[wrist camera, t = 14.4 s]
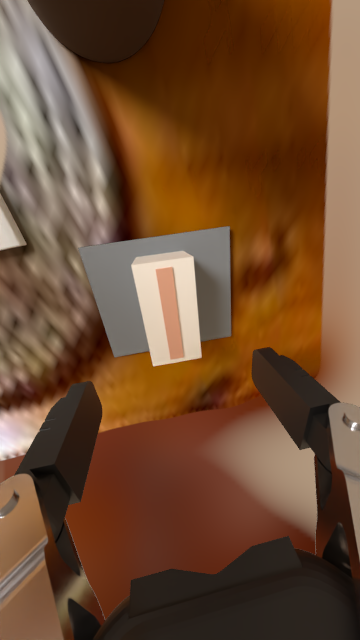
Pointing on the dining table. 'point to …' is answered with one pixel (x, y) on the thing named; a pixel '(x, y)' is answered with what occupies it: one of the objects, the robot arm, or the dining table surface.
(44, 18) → the olive oil
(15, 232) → the external hard drive
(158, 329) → the block
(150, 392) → the dining table surface
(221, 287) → the mat
